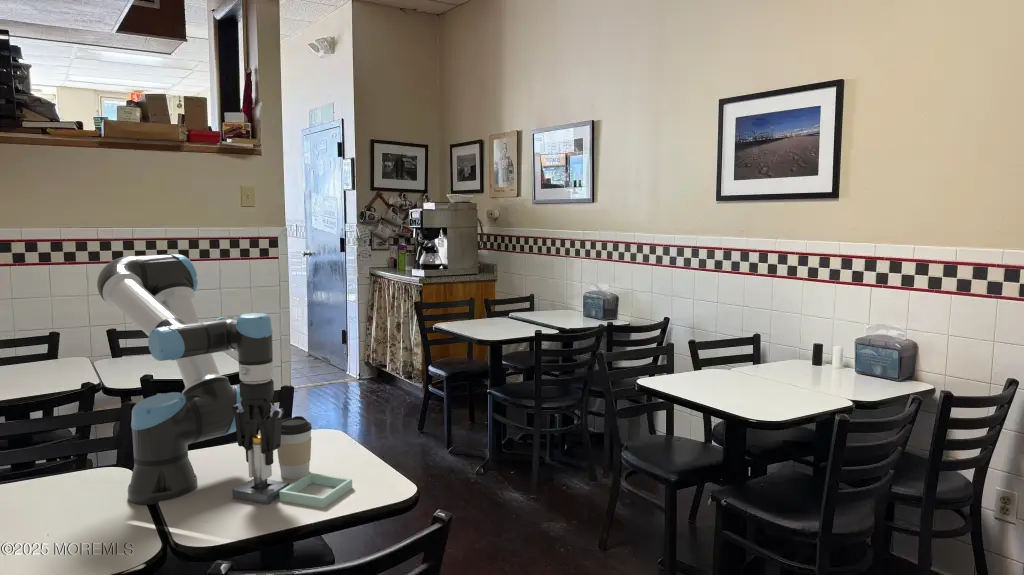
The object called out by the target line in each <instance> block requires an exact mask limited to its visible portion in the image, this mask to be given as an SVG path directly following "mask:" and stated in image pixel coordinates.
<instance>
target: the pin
mask: <svg viewBox="0 0 1024 575" xmlns="http://www.w3.org/2000/svg"><path fill="white" fill-rule="evenodd" d="M252 446H253V470H254V477H253V478H254V489H257V490H264V489H266V488H267V487H268V483H267V479H268V478H267V479H265V480H262V477H261V451H263V445H262V439H261V434H256V435H255V436H253V437H252Z"/></svg>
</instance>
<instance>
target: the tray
mask: <svg viewBox="0 0 1024 575" xmlns="http://www.w3.org/2000/svg"><path fill="white" fill-rule="evenodd" d="M311 484H314V485H321V486H327V487H335V488H333V489H331V490H330V491H329V492H327V493H325V494H324V495H323V496H321V495H313V494H307V493H302V492H300V491H301V490H303V489H305V488H306V487H308V486H309V485H311ZM351 489H353V479H352V478H347V477H341V476H334V475H327V474H322V473H321V474H320V473H314V472H309V474H308V475H306V476H304V477H301V478H298V480H296V481H294V482H293V483H290V485H289V486H287V487H286V488H284V489H282V490H281V491H279V495H280V498H279V501H280V502H285V503H292V504H298V505H303V506H311V507H315V508H320V509H321V508H322V509H325V507H327V506H329V505H330V504H331V503H332V502H335V501H336V500H337V499H338V498H340V497H342V496H343V495H344V494H346V493H347V492H349V491H351Z"/></svg>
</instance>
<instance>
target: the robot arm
mask: <svg viewBox="0 0 1024 575" xmlns="http://www.w3.org/2000/svg"><path fill="white" fill-rule="evenodd" d="M197 277H198V275H197V271H196V268H195V266H194V264H193V262H192V261H191V259H189V258H188V257H187V256H186V255H182V254H178V253H177V254H174V253H173V254H172V253H163V254H153V255H152V254H151V255H128V256H127V255H126V256H122V257H119V258H115V259H113V260H112V261H110V262H108V263H107V264H106V265H104V267H103V268H102V269H101V271H100V272H99V274H98V276H97V281H96V288H97V292H98V294H99V296H100V297H101V299H102V300H103V301H104V302H105V303H106V304H107V305H109V306H110V307H112V308H115V309H119V310H120V311H121V312H122V313H123V314H125V316H127V317H128V319H129V320H131V321H132V322H133V323H134V325H136V326H137V327H138V328H139V329H140V330H141V331H142V332H143V333H145V335H146V336H147V337H148V338H147V339H148V342H147V345H148V350H149V352H150V353H151V356H152V357H153V359H155V361H159V362H161V361H175V362H176V364H177V367H178V370H179V372H180V375H181V378H182V381H183V384H184V389H183V391H182V392H178V391H177V392H176V391H175V392H174V391H171V392H167V393H166V392H164V393H159V394H156V395H152V396H148V397H146V398H144V399H142V400H139V401H138V402H137V403H136V404H135V405H134V406H133V408H132V410H131V423H130V428H131V433H132V434H131V435H132V446H133V448H132V449H133V460H134V462H133V463H134V465H133V466H134V467H133V469H132V474H131V479H130V482H129V484H128V486H127V497H128V498H127V499H128V501H130V503H133V504H137V505H155V504H158V503H159V502H165V501H169V500H173V499H177V498H180V497H182V496H185V495H187V494H189V493H190V492H191V493H192V492H193V491H194V490H196V488H197V487H198V477H197V474H196V473H195V470H194V468H193V465H192V463H191V461H190V458H189V448H188V446H189V445H190V444H194V443H198V442H203V441H205V440H206V441H207V440H210V439H214V438H218V437H221V436H222V437H223V436H228V434H232V433H235V432H236V440H237V446H238V447H243V448H244V450H245V459H246V460H245V461H246V463H248V466H247V467H248V478H250V479H253V478H254V470H253V446H252V437H253V436H255V435H257V428H258V426H259V432H260V435H261V439H262V445H263V451H261V477H262V480H265V479H269V478H271V477H272V476H273V472H272V466H273V464H274V462H275V460H274V451H276V450H277V449H278V448H280V446H281V424H282V420H283V419H282V418H283V416H284V413H285V409H284V408H282V407H281V408H279V407H277V406H276V405H275V402H274V400H273V397H274V394H275V387H274V386H275V384H274V380H273V378H274V361H273V357H274V356H273V351H274V350H273V327H272V320H271V316H270V315H269V314H268V313H263V312H262V313H259V312H253V313H252V312H250V313H242V314H240V315H238V316H237V317H233V316H221V317H217V318H215V319H214V320H210V321H209V320H208V321H201V322H200V320H199V317H198V314H197V313H196V310H195V307H194V305H193V302H192V300H193V298H194V297H195V292H196V290H197V289H198V283H199V282H198V279H197ZM227 351H233V352H236V353H238V354H237V358H238V361H237V362H238V376H239V377H238V378H239V379H238V380H240V382H239V385H237V386H236V385H233V386H232V385H231V382H230V380H229V377H227V376H224V375H221V374H220V371H219V369H218V367H217V363H216V361H215V359H214V357H213V356H214V355H213V354H214V353H221V352H227Z"/></svg>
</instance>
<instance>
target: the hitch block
mask: <svg viewBox="0 0 1024 575" xmlns="http://www.w3.org/2000/svg"><path fill="white" fill-rule="evenodd" d="M267 483H268V487H267V488H266V489H264V490H257V489H254V477H252V478H250V480H248V481H246V482H244V483H242V484H240V485H238V486H237V487H235V488H233V489H232V490H231V493H232V500H236V501H243V502H247V503H254V504H260V505H264V506H268V505H270V504H272V503H273V502H275V501H277V500H278V499H279V500H280V495H279V491H281V490H282V489H284V488H286V487H287V486H289V485H291V483H290V482H285V481H281V480H275V479H269V478H267Z"/></svg>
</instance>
